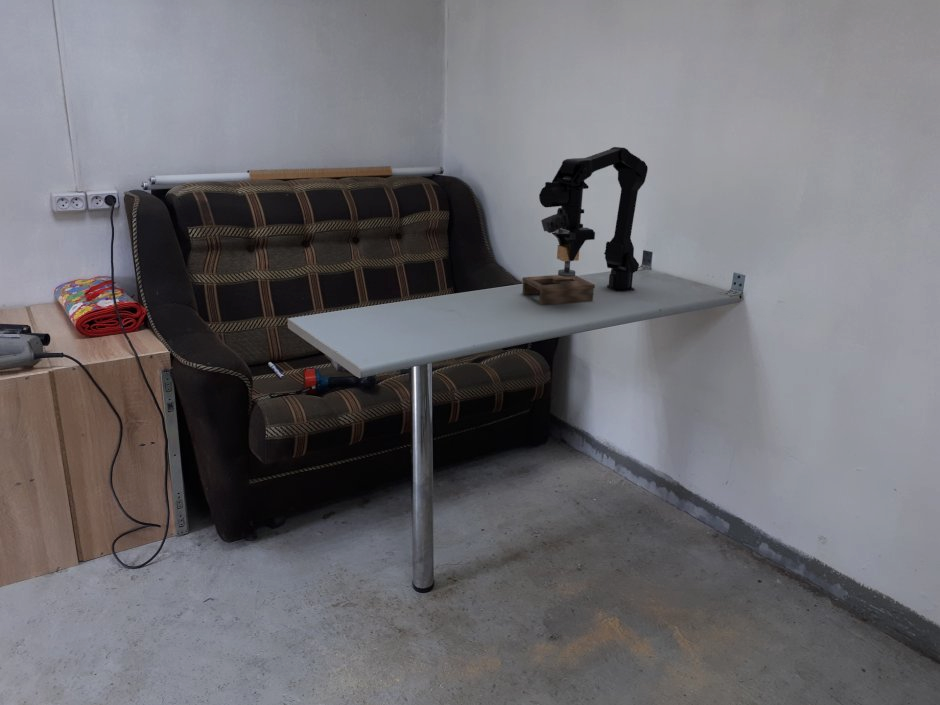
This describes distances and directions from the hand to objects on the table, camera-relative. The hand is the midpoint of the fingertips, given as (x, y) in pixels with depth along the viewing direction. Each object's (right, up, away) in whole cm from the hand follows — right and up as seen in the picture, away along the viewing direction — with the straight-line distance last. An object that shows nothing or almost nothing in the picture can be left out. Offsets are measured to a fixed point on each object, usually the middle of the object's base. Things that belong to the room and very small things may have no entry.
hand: (567, 259), depth 209 cm
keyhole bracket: (-2, -10, +7) cm, 13 cm away
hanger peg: (0, -4, +1) cm, 4 cm away
